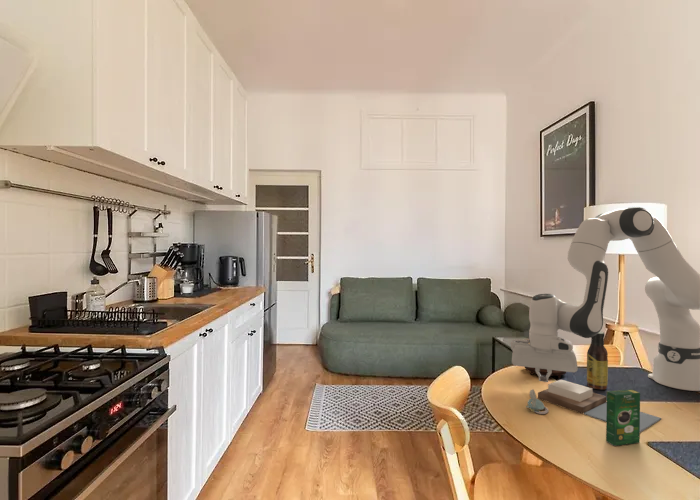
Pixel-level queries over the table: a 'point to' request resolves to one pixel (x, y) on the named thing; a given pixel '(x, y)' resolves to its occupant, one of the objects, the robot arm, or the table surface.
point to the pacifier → (536, 404)
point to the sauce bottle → (597, 363)
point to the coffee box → (623, 417)
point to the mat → (601, 414)
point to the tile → (570, 390)
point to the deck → (572, 401)
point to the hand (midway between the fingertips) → (543, 381)
